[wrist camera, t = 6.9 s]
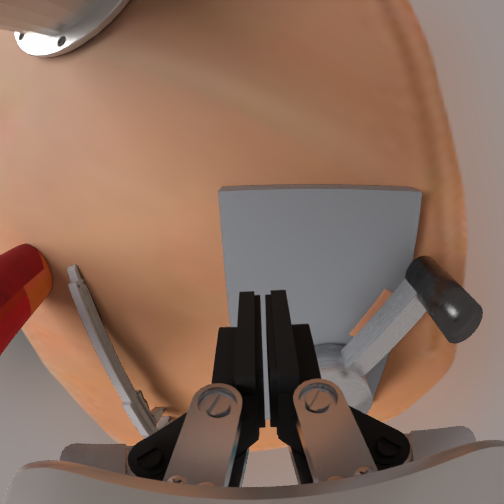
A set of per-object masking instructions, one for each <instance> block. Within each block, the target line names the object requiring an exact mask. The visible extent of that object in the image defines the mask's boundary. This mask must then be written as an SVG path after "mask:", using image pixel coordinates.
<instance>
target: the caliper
mask: <svg viewBox="0 0 504 504" xmlns="http://www.w3.org/2000/svg"><path fill="white" fill-rule="evenodd" d="M67 272H68V275H69V278H70V281H71V283H69V284H68V286H69V289H70V292H71V295H72V297H73V300H74V302H75V305H76V308H77V310H78V312H79V315H80V317H81V320H82V322H83V324H84V327H85V329H86V331H87V333H88V336H89V338H90V340H91V342H92V344H93V346H94V348H95V351H96V353H97V355H98V357H99V359H100V361H101V363H102V365H103V366H104V368H105V370H106V372H107V374H108V376H109V378H110V380H111V381H112V383H113V385H114V387H115V389H116V390H117V392H118V394H119V395H120V397H121V399H122V401H123V404H122V406H123V408H124V409H125V411H126V413H127V414H128V416H129V418H130V419H131V421H132V422H133V424H134V425H135V427H136V428H137V430H138V431H139V433H140V434H141V436H145V438H147V437H148V436H150V435H152V434H153V433H155V432H157V431H158V430H160V429H162V428H163V427H165V426H166V425H168V424H170V423H171V418H170V416H162V415H163V412H164V410H165V409H164V408H163V407H155V408H154V409H152V410H151V411H149V407H148V404H147V401H146V400H145V399H144V397H143V394H142V392H141V390H138V391H135V389H134V388H133V386H132V384H131V382H130V380H129V378H128V376H127V374H126V373H125V371H124V369H123V367H122V365H121V363H120V361H119V359H118V357H117V355H116V353H115V351H114V348H113V346H112V344H111V342H110V340H109V337H108V335H107V333H106V331H105V328H104V326H103V324H102V321H101V319H100V316H99V314H98V312H97V309H96V307H95V304H94V301H93V299H92V296H91V294H90V292H89V290H88V288H87V286H86V284H85V282H84V280H83V278H82V279H81V277H80V274H79V270H78V268H77V265H76V264H75V265H72V266H69V267H68V271H67ZM161 417H162V418H161ZM160 418H161V420H160ZM159 420H160V422H159ZM158 422H159V424H158V425H157V423H158ZM156 425H157V427H156Z"/></svg>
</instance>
